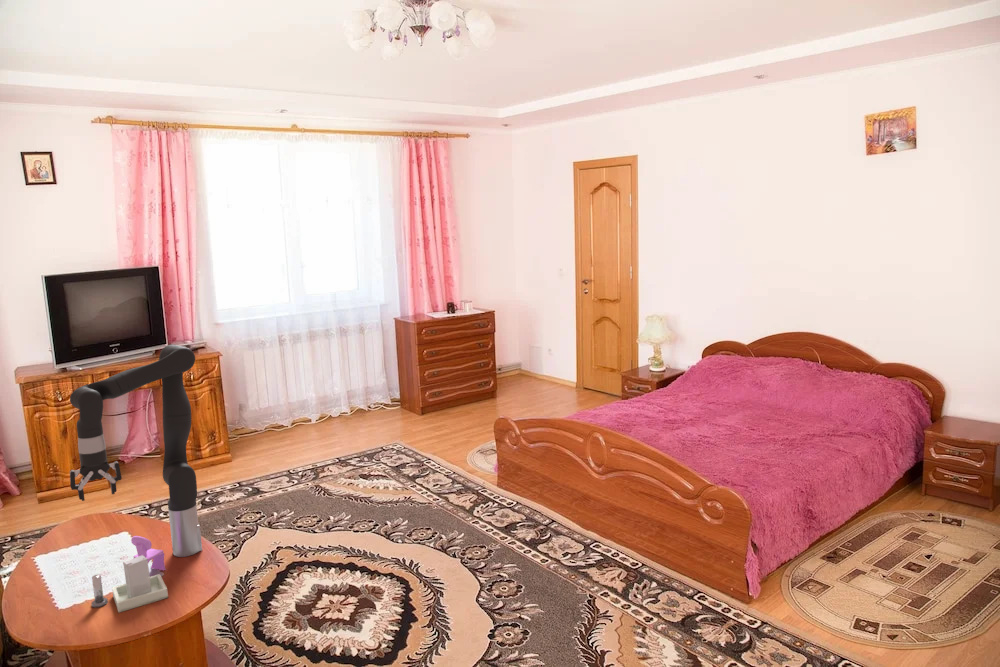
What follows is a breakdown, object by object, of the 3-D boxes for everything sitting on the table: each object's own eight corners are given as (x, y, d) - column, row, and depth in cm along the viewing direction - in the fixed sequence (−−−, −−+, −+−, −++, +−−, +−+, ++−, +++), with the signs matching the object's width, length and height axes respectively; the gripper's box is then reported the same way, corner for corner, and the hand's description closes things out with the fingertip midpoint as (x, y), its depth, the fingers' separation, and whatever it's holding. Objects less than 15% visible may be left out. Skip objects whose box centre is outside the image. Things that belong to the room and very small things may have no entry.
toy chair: (169, 569, 240) (164, 528, 237) (148, 582, 231) (144, 540, 229) (150, 566, 242) (145, 525, 240) (129, 578, 234) (124, 536, 232)
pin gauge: (106, 598, 222) (103, 571, 220) (108, 604, 218) (105, 577, 217) (90, 603, 219) (87, 575, 218) (92, 609, 216) (89, 581, 214)
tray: (160, 582, 231) (159, 573, 231) (168, 597, 221) (167, 588, 221) (113, 596, 223) (112, 587, 223) (118, 612, 213) (117, 603, 213)
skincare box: (147, 589, 226) (143, 554, 224) (152, 593, 223) (148, 558, 221) (126, 596, 221) (122, 561, 220) (131, 601, 218) (127, 565, 216)
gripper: (115, 441, 231) (121, 488, 234) (65, 450, 223) (71, 498, 226) (118, 447, 225) (124, 495, 228) (67, 456, 217) (73, 506, 220)
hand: (98, 496), depth 227 cm, fingers open, 8 cm apart
